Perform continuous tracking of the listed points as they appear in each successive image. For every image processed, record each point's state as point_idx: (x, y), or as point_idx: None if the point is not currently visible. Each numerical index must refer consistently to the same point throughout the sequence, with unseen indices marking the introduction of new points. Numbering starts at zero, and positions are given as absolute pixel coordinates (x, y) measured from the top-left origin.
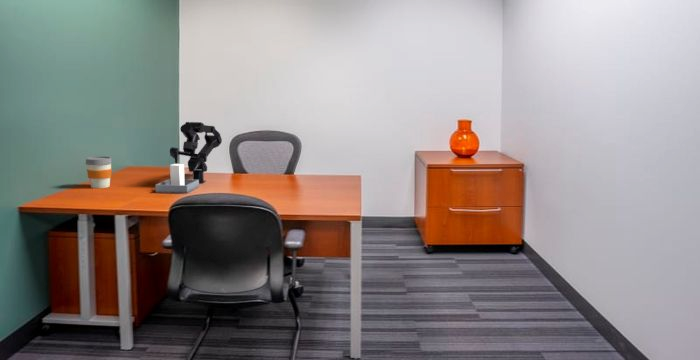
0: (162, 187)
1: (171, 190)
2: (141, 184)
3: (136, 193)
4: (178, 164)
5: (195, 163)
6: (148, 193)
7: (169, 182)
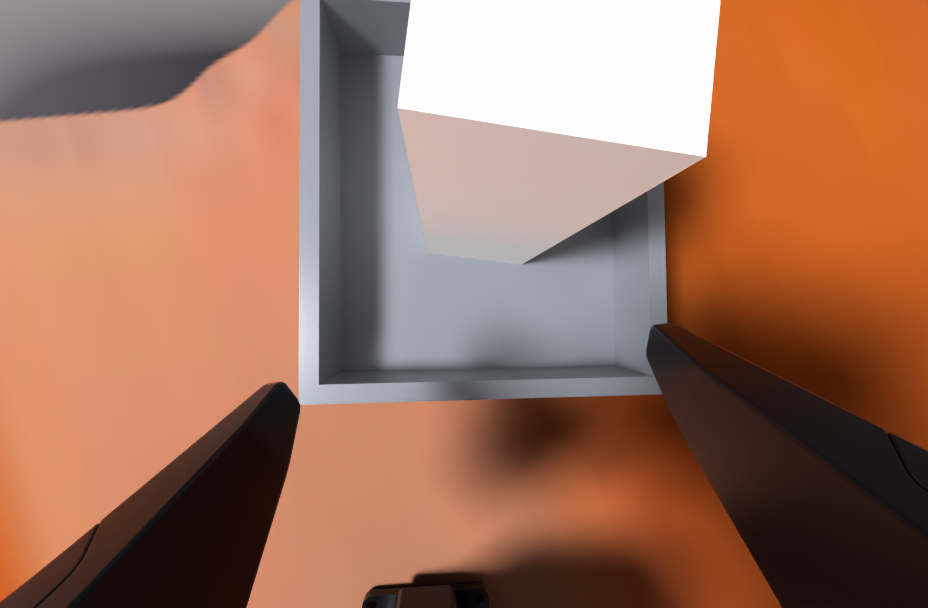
0: None
1: None
2: None
3: (750, 34)
4: (544, 29)
5: (143, 525)
6: None
7: (630, 355)
